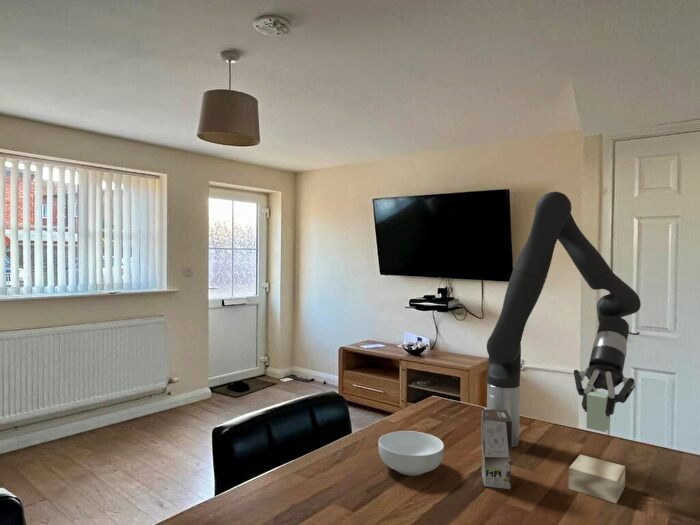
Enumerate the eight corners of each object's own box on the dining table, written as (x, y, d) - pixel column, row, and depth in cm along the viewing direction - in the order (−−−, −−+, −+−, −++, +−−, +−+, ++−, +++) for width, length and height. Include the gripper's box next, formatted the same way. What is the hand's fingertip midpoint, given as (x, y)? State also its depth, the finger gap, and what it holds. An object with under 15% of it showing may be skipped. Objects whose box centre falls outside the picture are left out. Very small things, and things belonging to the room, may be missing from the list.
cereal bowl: (456, 468, 120) (456, 441, 120) (419, 492, 108) (419, 461, 108) (403, 449, 132) (403, 425, 132) (364, 468, 120) (365, 441, 120)
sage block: (586, 428, 110) (586, 394, 110) (591, 423, 113) (591, 391, 113) (605, 432, 108) (605, 397, 108) (609, 427, 111) (609, 394, 111)
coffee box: (511, 489, 109) (512, 421, 109) (483, 487, 111) (484, 419, 110) (506, 472, 118) (507, 409, 118) (480, 469, 120) (481, 407, 119)
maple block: (568, 488, 110) (568, 467, 110) (579, 473, 118) (580, 454, 118) (616, 503, 104) (616, 481, 104) (624, 486, 111) (625, 466, 111)
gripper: (575, 341, 121) (561, 398, 112) (639, 348, 112) (629, 410, 103) (581, 358, 125) (567, 414, 116) (642, 366, 116) (633, 427, 107)
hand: (596, 412), depth 109 cm, fingers closed on sage block, 4 cm apart
